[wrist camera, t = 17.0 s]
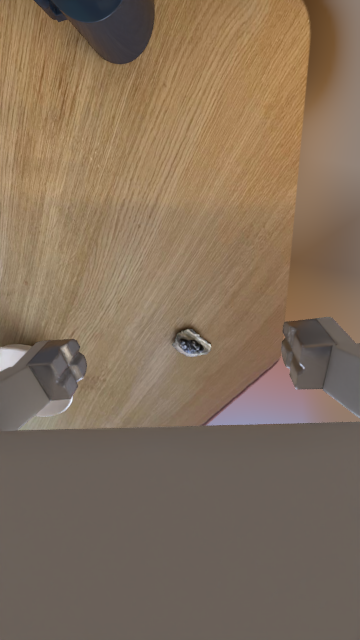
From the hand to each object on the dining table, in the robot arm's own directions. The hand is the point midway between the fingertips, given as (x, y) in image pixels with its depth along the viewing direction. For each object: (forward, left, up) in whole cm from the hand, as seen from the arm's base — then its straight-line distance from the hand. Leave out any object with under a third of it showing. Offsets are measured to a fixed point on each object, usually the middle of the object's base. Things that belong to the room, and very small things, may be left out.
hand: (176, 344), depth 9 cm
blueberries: (+3, +23, -31) cm, 39 cm away
